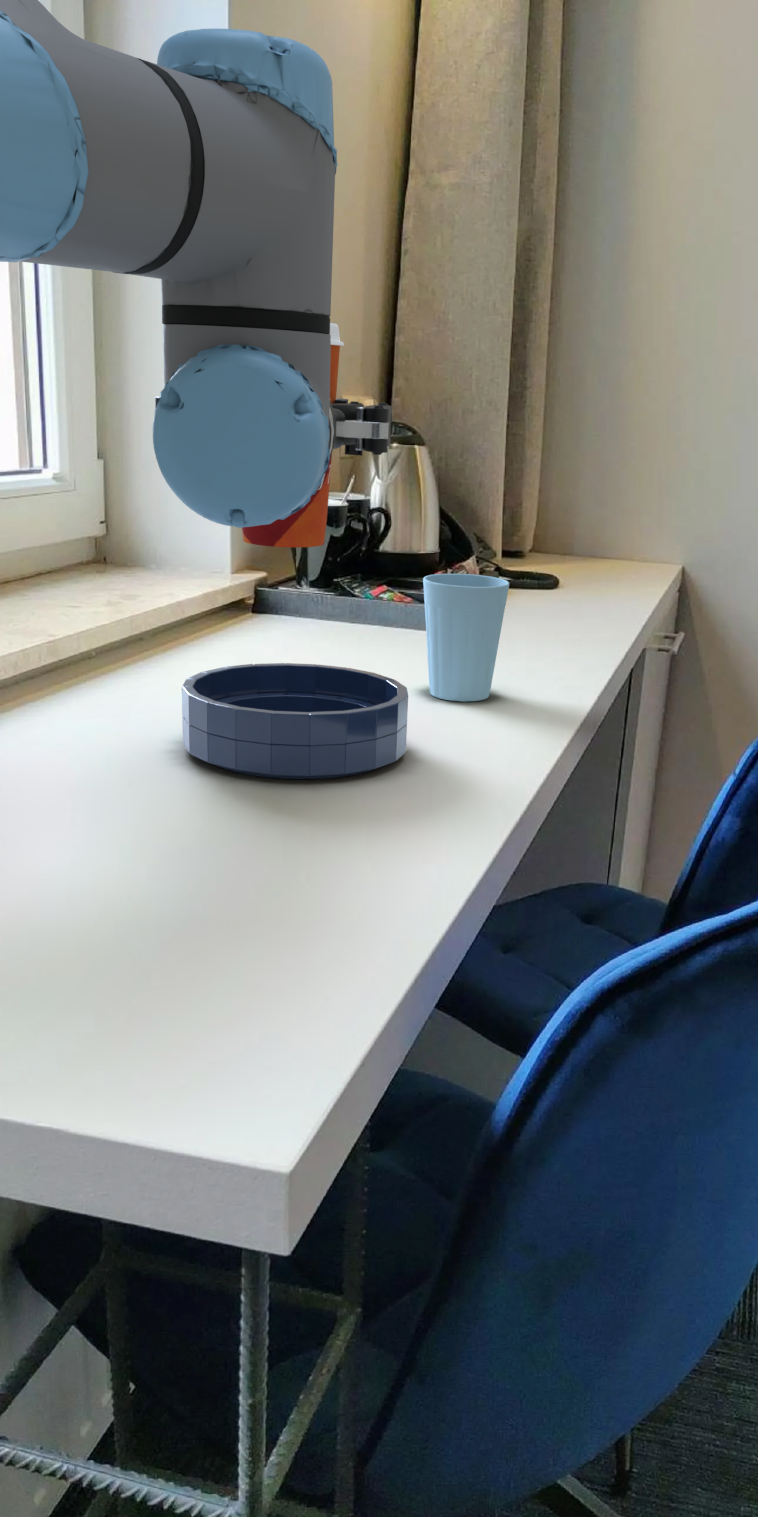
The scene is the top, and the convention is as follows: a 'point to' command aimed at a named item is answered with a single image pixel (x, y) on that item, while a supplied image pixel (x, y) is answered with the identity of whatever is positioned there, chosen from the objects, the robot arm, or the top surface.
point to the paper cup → (312, 518)
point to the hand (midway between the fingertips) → (289, 416)
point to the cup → (463, 633)
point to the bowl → (294, 720)
